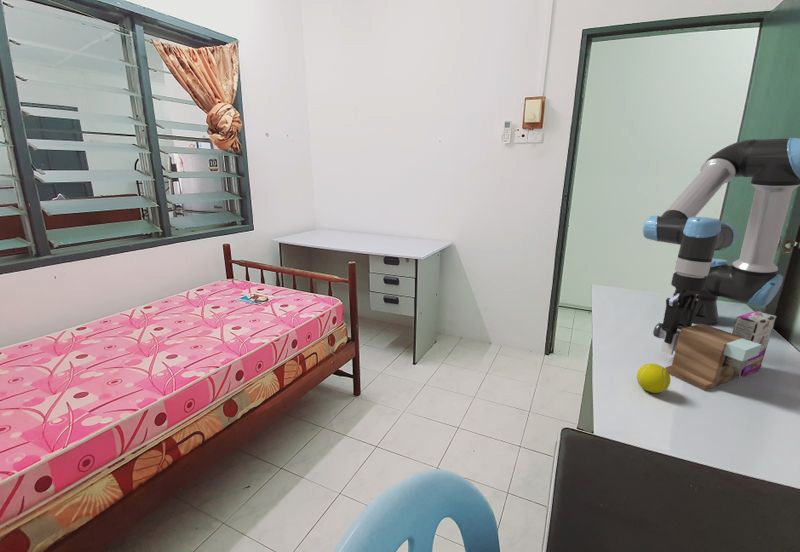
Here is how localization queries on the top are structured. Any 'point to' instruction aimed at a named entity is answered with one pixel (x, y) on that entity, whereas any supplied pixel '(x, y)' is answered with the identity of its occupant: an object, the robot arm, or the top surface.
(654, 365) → the tennis ball
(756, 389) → the top surface
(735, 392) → the top surface
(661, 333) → the shaft
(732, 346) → the block
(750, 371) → the candy bar box
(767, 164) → the robot arm
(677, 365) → the bearing block
